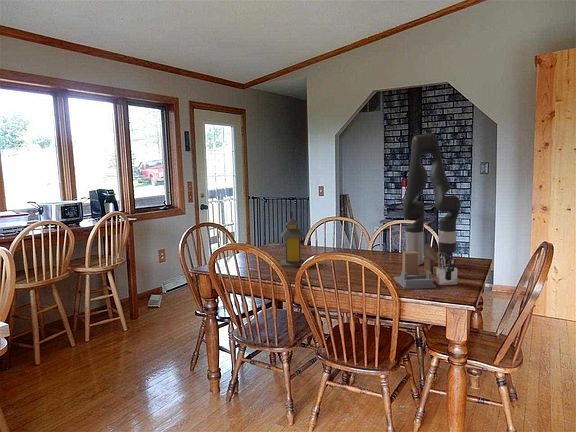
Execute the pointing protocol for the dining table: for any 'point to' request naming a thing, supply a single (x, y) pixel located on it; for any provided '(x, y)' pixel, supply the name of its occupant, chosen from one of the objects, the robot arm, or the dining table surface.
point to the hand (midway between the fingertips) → (446, 278)
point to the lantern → (292, 243)
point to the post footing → (413, 273)
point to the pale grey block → (442, 277)
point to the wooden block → (431, 259)
